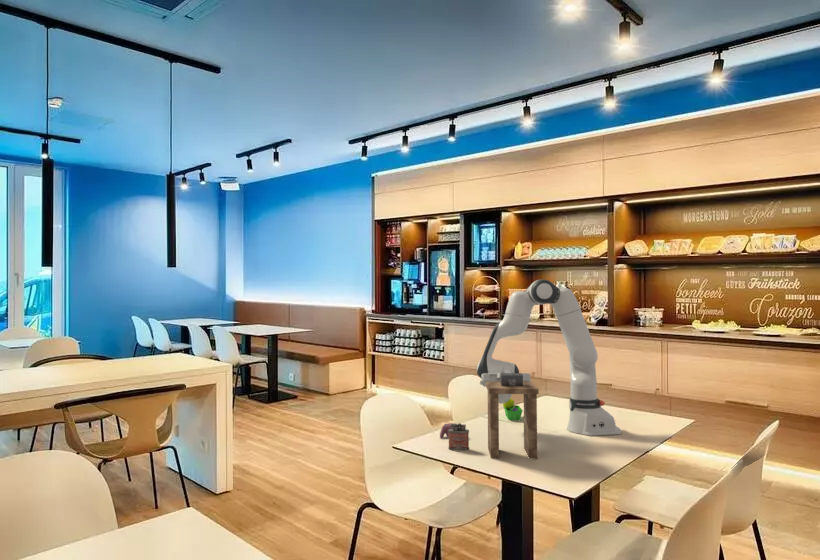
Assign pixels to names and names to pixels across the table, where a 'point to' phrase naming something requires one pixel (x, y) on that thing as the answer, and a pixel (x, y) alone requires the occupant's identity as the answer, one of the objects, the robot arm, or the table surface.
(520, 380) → the steel t handle
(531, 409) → the walnut shelf
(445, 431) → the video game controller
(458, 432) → the lighter
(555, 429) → the table surface
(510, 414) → the fruit basket
